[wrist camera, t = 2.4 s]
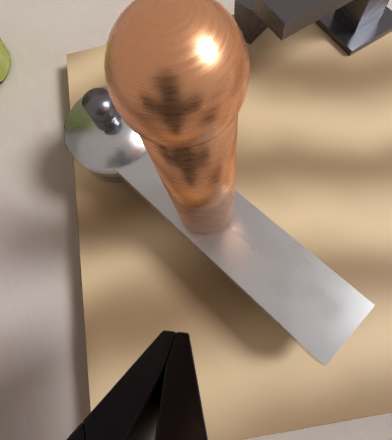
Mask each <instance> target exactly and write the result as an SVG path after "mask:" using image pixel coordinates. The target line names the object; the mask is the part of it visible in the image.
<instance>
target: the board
mask: <svg viewBox="0 0 392 440" xmlns="http://www.w3.org/2000/svg"><path fill="white" fill-rule="evenodd" d="M232 17H233V18H234V15H232ZM246 45H247V49H248V55H249V61H250V79H249V85H248V90H247V94H246V97H245V100H244V103H243V105H242V107H241V109H240V111H239V113H238V128H237V149H236V170H235V190H236V191H237V192H238V193H239V194H241V195H242V196H243V197H244V198H245V199H247V200H248V201H249V202H250V203H252V204H253V205H254V206H255V207H256V208H258V209H259V210H260V211H261V212H262V213H264V214H265V215H266V216H267V217H269V218H270V219H271V220H272V221H273V222H275V223H276V224H277V225H278V226H279V227H281V228H282V229H283V230H284V231H286V232H287V233H288V234H289V235H290V236H292V237H293V238H294V239H295V240H296V241H298V242H299V243H300V244H301V245H303V246H304V247H305V248H306V249H307V250H309V251H310V252H311V253H312V254H313V255H315V256H316V257H317V258H318V259H319V260H321V261H322V262H323V263H324V264H326V265H327V266H328V267H329V268H330V269H332V270H333V271H334V272H335V273H336V274H338V275H339V276H340V277H341V278H343V279H344V280H345V281H346V282H347V283H349V284H350V285H351V286H352V287H353V288H355V289H356V290H357V291H358V292H360V293H361V294H362V295H363V296H364V297H366V298H367V299H368V300H369V301H370V302H372V303H373V304H374V305H375V306H374V307H373V309H372V310H371V311H370V312H369V313H368V315H367V316H366V317H365V318H364V320H363V321H362V322H361V323H360V324H359V326H358V327H357V328H356V329H355V331H354V332H353V333H352V334H351V335H350V337H349V338H348V339H347V340H346V342H345V343H344V344H343V345H342V347H341V348H340V349H339V350H338V351H337V353H336V354H335V355H334V356H333V358H332V359H331V360H330V361H329V362H328V364H327V365H326V366H324V365H322V364H320V363H318V362H316V361H315V360H313V359H312V358H311V357H310V356H309V355H308V354H307V353H306V352H305V351H304V350H303V349H302V348H301V347H300V346H299V345H298V344H296V343H295V342H294V341H293V340H292V339H291V338H290V337H289V336H288V335H287V334H286V333H285V332H284V331H283V330H282V329H281V328H279V327H278V326H277V325H276V324H275V323H274V322H273V321H272V320H271V319H270V318H269V317H268V316H267V315H266V314H265V313H264V312H262V311H261V310H260V309H259V308H258V307H257V306H256V305H255V304H254V303H253V302H252V301H251V300H250V299H249V298H248V297H247V296H246V295H244V294H243V293H242V292H241V291H240V290H239V289H238V288H237V287H236V286H235V285H234V284H233V283H232V282H231V281H230V280H229V279H227V278H226V277H225V276H224V275H223V274H222V273H221V272H220V271H219V270H218V269H217V268H216V267H215V266H214V265H213V264H212V263H210V262H209V261H208V260H207V259H206V258H205V257H204V256H203V255H202V254H201V253H200V252H199V251H198V250H197V249H196V248H195V247H193V246H192V245H191V244H190V243H189V242H188V241H187V240H186V239H185V238H184V237H183V236H182V235H181V234H180V233H179V232H178V231H176V230H175V229H174V228H173V227H172V226H171V225H170V224H169V223H168V222H167V221H166V220H165V219H164V218H163V217H162V216H161V215H159V214H158V213H157V212H156V211H155V210H154V209H153V208H152V207H151V206H150V205H149V204H148V203H147V202H146V201H145V200H144V199H142V198H141V197H140V196H139V195H138V194H137V193H136V192H135V191H134V190H133V189H132V188H131V187H130V186H129V185H128V184H127V183H125V182H121V183H112V182H106V181H102V180H100V179H98V178H96V177H94V176H93V175H92V174H90V173H89V172H88V171H87V170H86V169H85V168H84V167H83V166H82V165H81V164H80V163H79V161H78V160H77V159H76V158H75V157H74V156H73V159H74V173H75V188H76V203H77V218H78V232H79V247H80V262H81V277H82V291H83V306H84V321H85V336H86V351H87V365H88V380H89V395H90V410H91V411H92V410H93V409H94V408H95V407H96V406H97V405H98V403H99V402H100V401H101V400H102V399H103V398H104V397H105V396H106V394H107V393H108V392H109V391H110V390H111V389H112V388H113V386H114V385H115V384H116V383H117V382H118V381H119V380H120V378H121V377H122V376H123V375H124V374H125V373H126V372H127V371H128V369H129V368H130V367H131V366H132V365H133V364H134V363H135V361H136V360H137V359H138V358H139V357H140V356H141V355H142V353H143V352H144V351H145V350H146V349H147V348H148V347H149V346H150V344H151V343H152V342H153V341H154V340H155V339H156V338H157V336H158V335H159V334H160V333H161V332H162V331H164V330H168V331H174V332H176V333H177V332H184V333H188V334H189V336H190V341H191V347H192V352H193V358H194V364H195V369H196V375H197V380H198V386H199V392H200V397H201V403H202V408H203V414H204V420H205V425H206V431H207V436H208V440H242V439H248V438H253V437H259V436H264V435H270V434H275V433H281V432H286V431H292V430H297V429H303V428H308V427H314V426H319V425H325V424H330V423H336V422H341V421H347V420H352V419H358V418H363V417H369V416H374V415H380V414H385V413H391V412H392V32H390V33H388V34H387V35H385V36H383V37H382V38H380V39H378V40H376V41H375V42H373V43H371V44H370V45H368V46H366V47H364V48H363V49H361V50H359V51H357V52H356V53H354V54H352V55H351V56H349V55H348V54H347V53H346V52H345V51H344V50H343V49H342V48H341V47H340V46H339V45H337V44H336V43H335V42H334V41H333V40H332V39H331V38H330V37H329V36H328V35H327V34H326V33H325V32H324V31H323V30H322V29H321V28H320V27H319V26H318V25H317V24H316V23H315V22H314V23H312V24H310V25H309V26H307V27H305V28H303V29H301V30H300V31H298V32H296V33H294V34H293V35H291V36H289V37H287V38H286V39H284V40H282V41H281V40H280V39H279V38H278V37H277V36H276V35H275V33H274V32H273V31H272V30H271V29H270V28H269V27H267V28H266V29H265V30H264V31H263V32H262V33H261V34H260V35H259V36H258V37H257V38H256V39H255V40H254V41H253V42H252V43H251V44H248V43H246ZM105 50H106V45H105V46H100V47H96V48H92V49H88V50H84V51H79V52H75V53H71V54H67V70H68V85H69V100H70V110H71V109H72V107H73V106H74V105H75V104H76V102H77V101H78V100H79V99H80V98H82V97H83V96H84V95H85V93H86V92H88V91H89V90H91V89H93V88H99V87H102V86H105V85H106V81H105V73H104V58H105Z"/></svg>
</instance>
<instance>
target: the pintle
mask: <svg viewBox="0 0 392 440" xmlns="http://www.w3.org/2000/svg"><path fill="white" fill-rule="evenodd" d="M82 106H83V108H84V109H85V111H86V112H87V114H88V115H89V116H90V118H91V119H92V121H93V122H94V124H95V125H96V126H97V128H98V129H100V130H102V131H110V130H112V129H114V128H116V127H117V126H118V125H119V123H120V121H121V117H120V115H119V114H118V112H117V111H116V109H115V107H114V105H113V103H112V101H111V99H110V96H109V93H108V91H107V90H106V89H104V88H93V89H91V90H89V91H88V92H86V93H85V95H84V96H83V98H82Z"/></svg>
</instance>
